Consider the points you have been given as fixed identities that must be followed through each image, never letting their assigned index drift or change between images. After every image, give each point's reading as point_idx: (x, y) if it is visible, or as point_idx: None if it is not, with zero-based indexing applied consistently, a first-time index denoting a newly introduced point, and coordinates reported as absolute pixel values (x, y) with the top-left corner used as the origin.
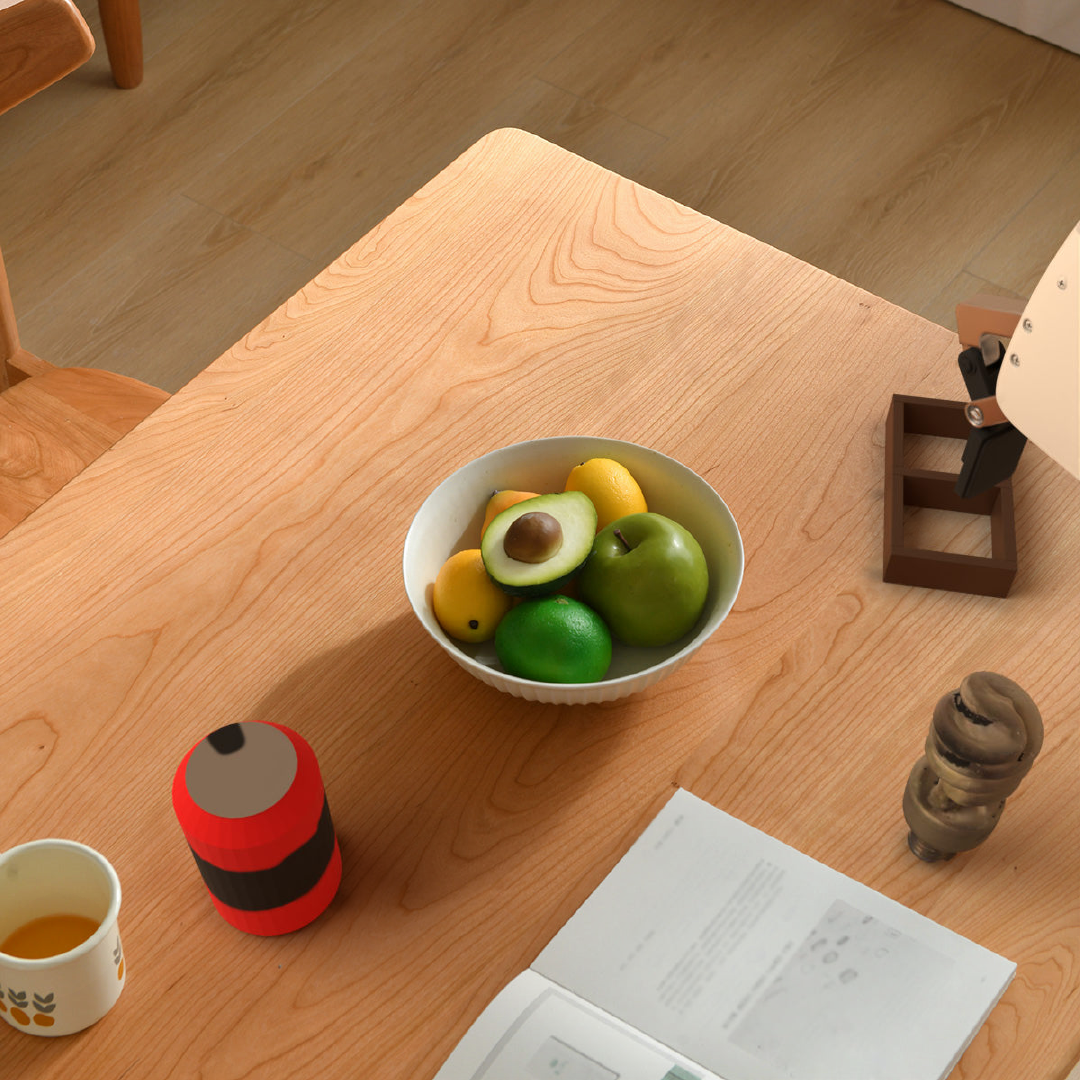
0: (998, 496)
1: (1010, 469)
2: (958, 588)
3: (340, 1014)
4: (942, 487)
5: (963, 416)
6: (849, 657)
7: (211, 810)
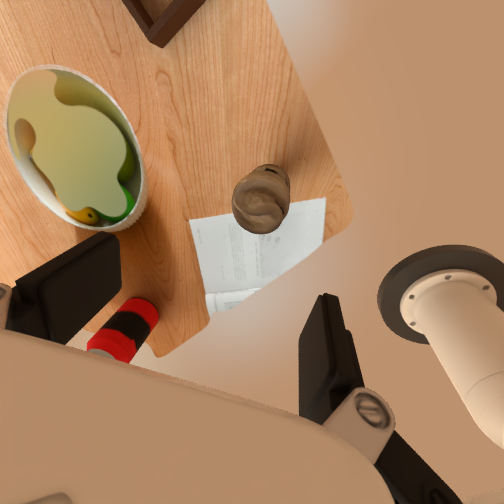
0: None
1: (110, 251)
2: (191, 13)
3: (184, 325)
4: None
5: None
6: (186, 112)
7: None
